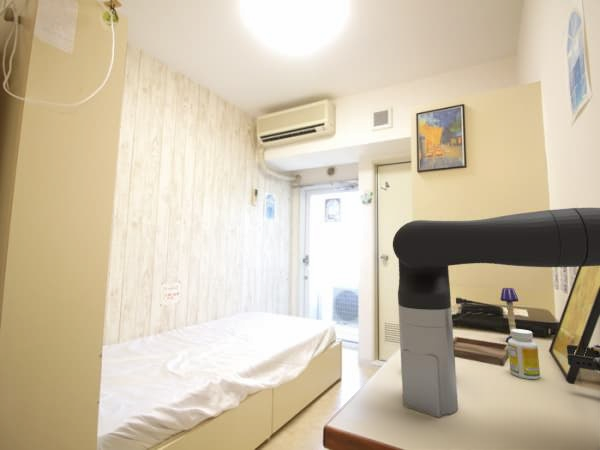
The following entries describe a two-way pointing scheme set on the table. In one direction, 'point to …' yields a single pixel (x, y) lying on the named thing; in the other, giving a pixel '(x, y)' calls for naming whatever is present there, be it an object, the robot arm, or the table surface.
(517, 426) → the table surface
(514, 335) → the supplement bottle
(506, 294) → the toy lamp
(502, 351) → the tray
